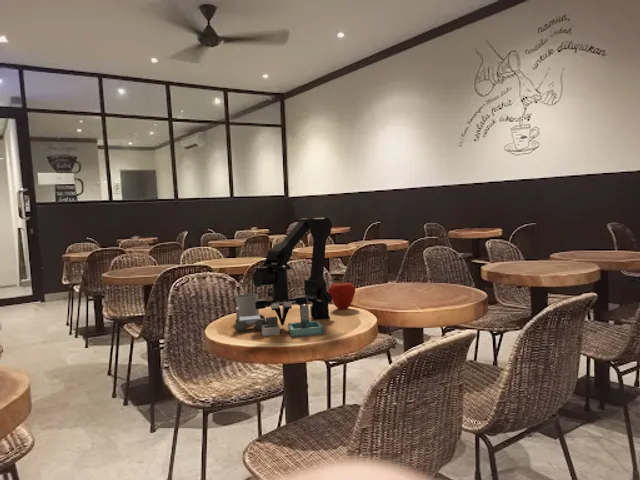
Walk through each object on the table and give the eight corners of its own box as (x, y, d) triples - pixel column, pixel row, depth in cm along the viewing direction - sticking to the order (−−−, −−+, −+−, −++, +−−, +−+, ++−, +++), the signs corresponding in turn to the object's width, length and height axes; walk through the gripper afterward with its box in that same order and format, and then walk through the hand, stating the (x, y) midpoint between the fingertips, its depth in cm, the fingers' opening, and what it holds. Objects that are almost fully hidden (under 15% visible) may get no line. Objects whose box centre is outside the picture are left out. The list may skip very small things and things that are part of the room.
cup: (254, 322, 189) (253, 297, 188) (235, 322, 190) (233, 297, 190) (261, 317, 197) (260, 293, 196) (242, 317, 199) (241, 293, 198)
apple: (357, 306, 210) (356, 278, 210) (353, 311, 200) (352, 282, 199) (332, 306, 213) (331, 279, 212) (327, 311, 202) (326, 282, 202)
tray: (318, 327, 175) (318, 320, 175) (323, 334, 165) (323, 326, 165) (288, 330, 173) (288, 323, 173) (291, 337, 164) (291, 329, 163)
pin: (309, 329, 171) (307, 303, 171) (310, 331, 168) (309, 305, 168) (300, 329, 171) (299, 304, 170) (301, 331, 168) (300, 306, 167)
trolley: (265, 324, 185) (264, 303, 184) (266, 330, 175) (265, 308, 175) (236, 327, 183) (234, 306, 182) (236, 332, 174) (234, 310, 173)
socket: (278, 330, 174) (278, 323, 174) (279, 334, 168) (279, 327, 168) (261, 332, 173) (261, 325, 173) (262, 336, 167) (262, 329, 167)
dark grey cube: (277, 327, 179) (276, 316, 179) (278, 329, 175) (277, 318, 175) (266, 328, 178) (265, 317, 178) (266, 330, 174) (266, 319, 174)
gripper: (302, 278, 186) (304, 318, 187) (253, 282, 183) (255, 322, 184) (306, 282, 175) (308, 324, 176) (254, 286, 172) (257, 329, 173)
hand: (282, 325), depth 177 cm, fingers closed
